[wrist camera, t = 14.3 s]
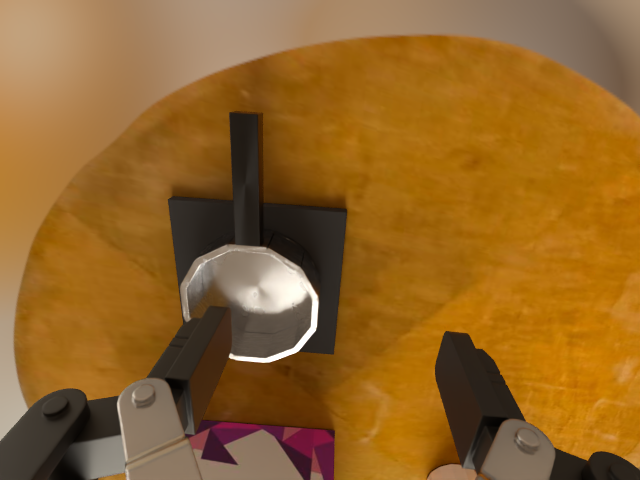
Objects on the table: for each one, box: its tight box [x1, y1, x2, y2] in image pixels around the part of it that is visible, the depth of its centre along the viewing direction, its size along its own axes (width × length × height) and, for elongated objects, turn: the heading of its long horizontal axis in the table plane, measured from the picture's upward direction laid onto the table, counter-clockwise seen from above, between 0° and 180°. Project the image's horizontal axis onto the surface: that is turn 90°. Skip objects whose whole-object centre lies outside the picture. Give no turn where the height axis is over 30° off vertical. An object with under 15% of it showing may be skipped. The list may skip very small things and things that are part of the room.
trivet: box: [168, 196, 347, 354], centre depth 34 cm, size 16×16×1 cm
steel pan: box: [180, 111, 321, 363], centre depth 30 cm, size 22×12×4 cm, turn 177°
